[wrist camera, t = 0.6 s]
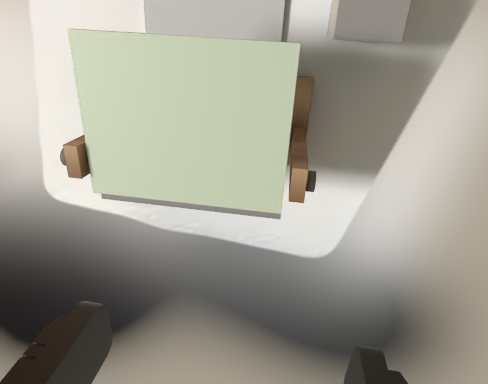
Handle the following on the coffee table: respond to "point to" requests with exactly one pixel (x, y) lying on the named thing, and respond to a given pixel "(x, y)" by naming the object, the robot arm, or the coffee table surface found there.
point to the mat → (216, 18)
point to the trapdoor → (186, 118)
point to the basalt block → (368, 20)
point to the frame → (297, 157)
